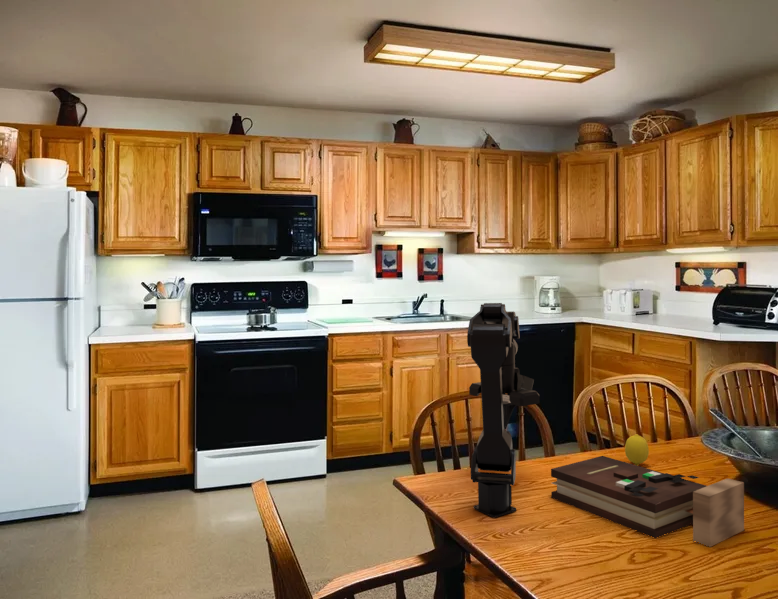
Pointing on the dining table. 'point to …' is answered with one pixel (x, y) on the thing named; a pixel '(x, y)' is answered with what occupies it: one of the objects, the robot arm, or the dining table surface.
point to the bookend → (718, 511)
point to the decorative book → (627, 494)
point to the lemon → (636, 449)
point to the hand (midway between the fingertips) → (503, 429)
